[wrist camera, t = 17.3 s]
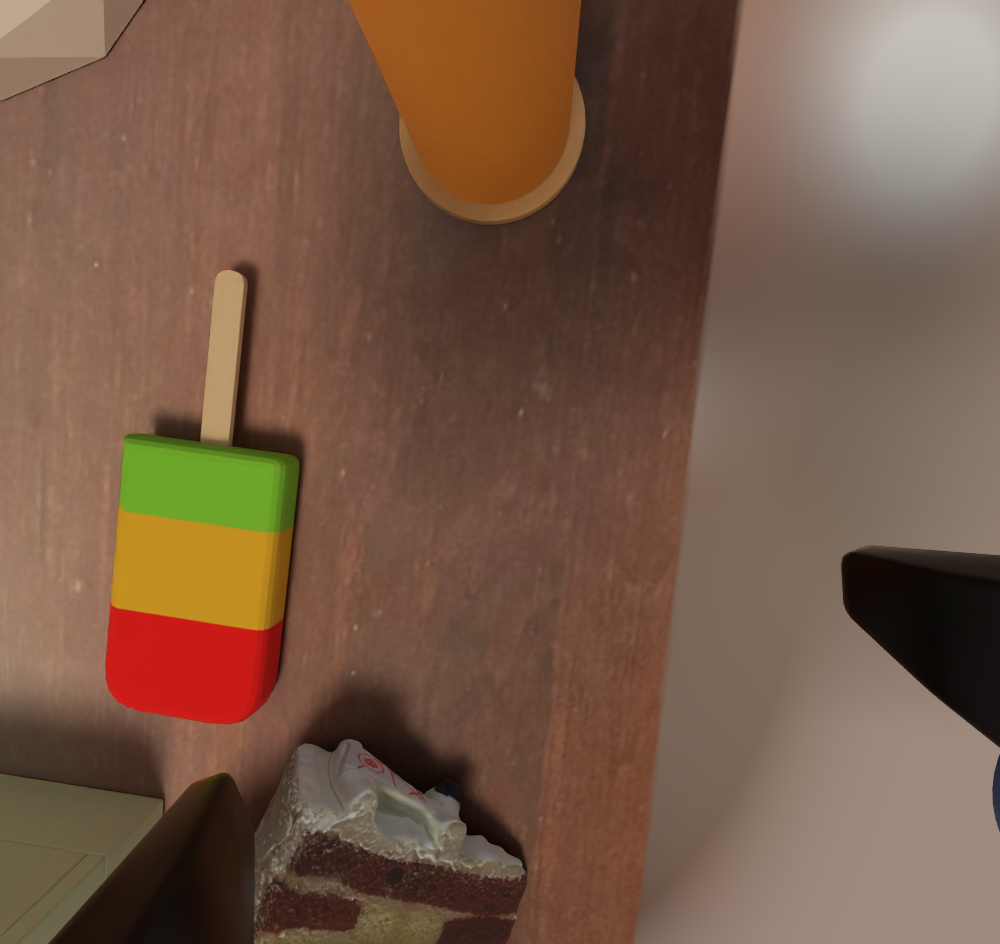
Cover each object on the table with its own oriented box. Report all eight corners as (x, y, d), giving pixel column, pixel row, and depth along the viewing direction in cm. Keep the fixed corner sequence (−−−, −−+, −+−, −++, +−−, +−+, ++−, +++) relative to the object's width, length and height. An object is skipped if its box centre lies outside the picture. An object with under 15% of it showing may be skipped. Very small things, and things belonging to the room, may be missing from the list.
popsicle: (132, 686, 22) (94, 710, 20) (169, 268, 21) (132, 252, 19) (278, 710, 22) (253, 737, 20) (324, 288, 21) (303, 273, 19)
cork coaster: (595, 41, 19) (597, 33, 19) (572, 233, 20) (573, 230, 19) (411, 27, 20) (408, 19, 19) (392, 216, 20) (389, 212, 20)
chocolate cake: (607, 847, 22) (353, 847, 13) (527, 1059, 20) (189, 1205, 12) (440, 723, 28) (203, 673, 20) (372, 877, 27) (87, 891, 19)
